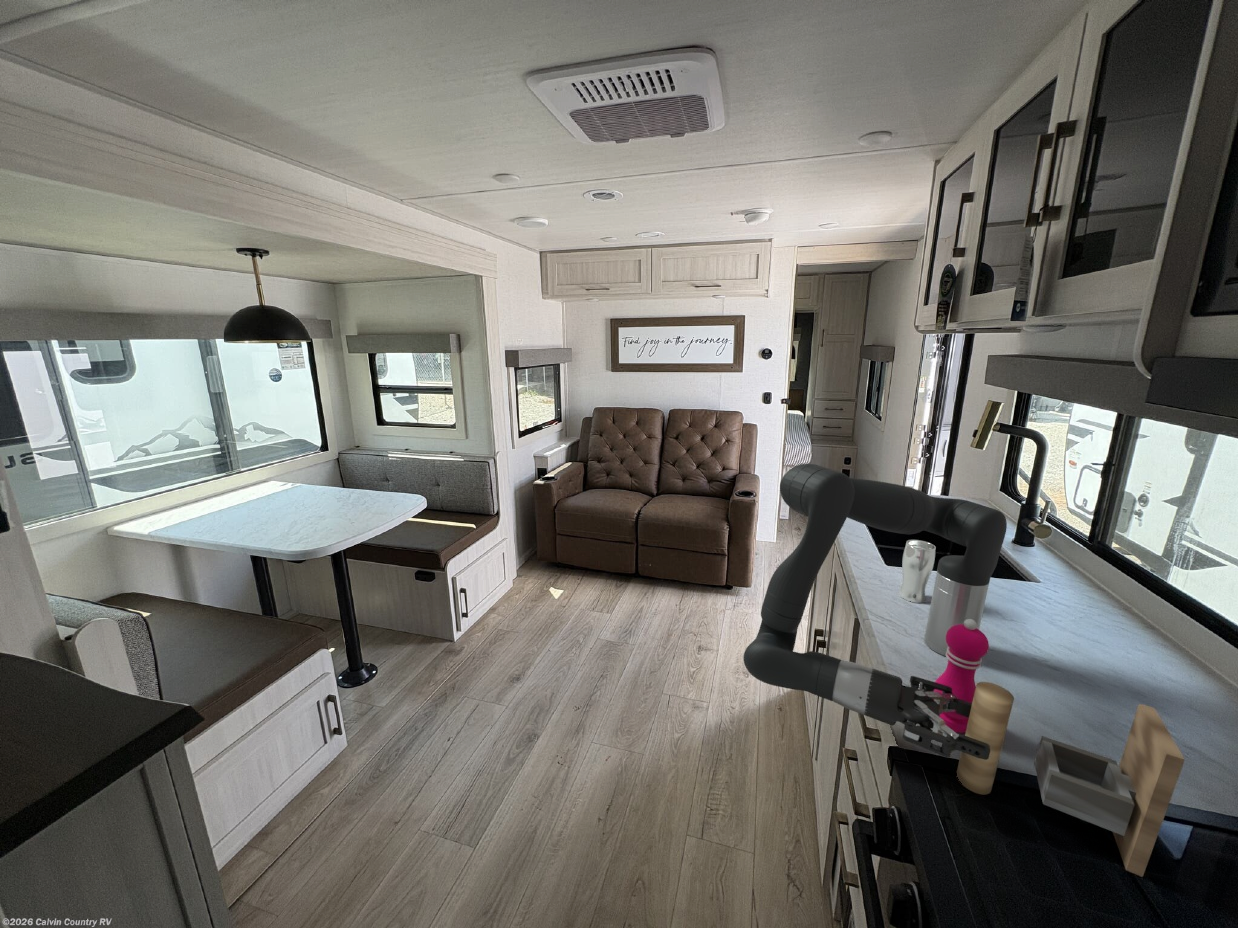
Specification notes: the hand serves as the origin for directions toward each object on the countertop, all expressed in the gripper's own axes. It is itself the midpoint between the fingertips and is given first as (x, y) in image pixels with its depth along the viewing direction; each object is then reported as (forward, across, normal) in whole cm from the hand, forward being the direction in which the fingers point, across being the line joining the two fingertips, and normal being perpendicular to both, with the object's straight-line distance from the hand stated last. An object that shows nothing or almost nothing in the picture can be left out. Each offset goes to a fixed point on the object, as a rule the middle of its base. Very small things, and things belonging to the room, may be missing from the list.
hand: (987, 733), depth 72 cm
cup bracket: (+12, 0, +9) cm, 15 cm away
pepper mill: (-3, +13, +9) cm, 16 cm away
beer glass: (-12, +60, +9) cm, 62 cm away
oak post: (0, 0, +9) cm, 9 cm away
